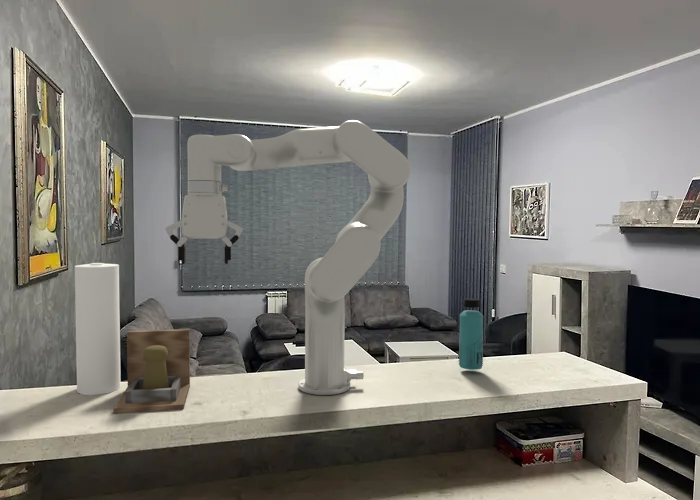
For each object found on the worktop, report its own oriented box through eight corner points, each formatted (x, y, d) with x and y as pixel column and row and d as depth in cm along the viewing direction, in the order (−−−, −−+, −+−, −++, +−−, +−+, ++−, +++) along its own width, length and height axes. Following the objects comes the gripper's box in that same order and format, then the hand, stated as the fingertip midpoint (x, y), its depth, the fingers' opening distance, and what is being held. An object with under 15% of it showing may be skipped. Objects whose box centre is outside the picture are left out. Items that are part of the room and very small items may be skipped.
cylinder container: (82, 397, 120) (80, 265, 118) (72, 387, 127) (70, 262, 125) (125, 389, 126) (124, 263, 124) (114, 380, 133) (112, 261, 131)
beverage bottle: (478, 376, 139) (480, 301, 137) (454, 372, 142) (455, 299, 141) (486, 371, 144) (487, 298, 143) (462, 367, 148) (464, 296, 146)
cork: (165, 398, 116) (164, 349, 116) (137, 398, 116) (136, 349, 116) (173, 390, 122) (173, 343, 122) (147, 389, 122) (146, 342, 122)
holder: (189, 386, 129) (189, 329, 128) (183, 409, 113) (183, 344, 112) (128, 389, 126) (127, 331, 125) (113, 413, 110) (112, 347, 109)
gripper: (242, 191, 128) (242, 262, 128) (167, 189, 124) (168, 262, 125) (243, 189, 120) (243, 264, 121) (163, 187, 117) (163, 265, 117)
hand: (205, 263), depth 123 cm, fingers open, 9 cm apart
